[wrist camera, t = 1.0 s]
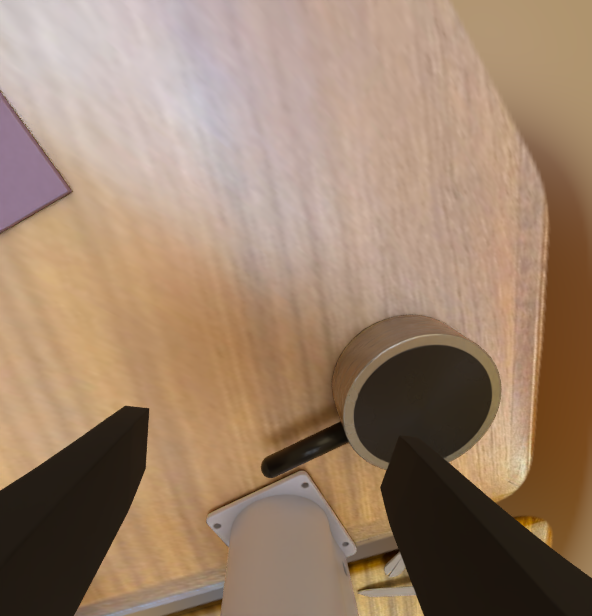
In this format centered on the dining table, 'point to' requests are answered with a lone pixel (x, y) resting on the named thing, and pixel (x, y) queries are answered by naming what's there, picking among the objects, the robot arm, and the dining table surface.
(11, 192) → the cloth
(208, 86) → the dining table surface
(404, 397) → the pan
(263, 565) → the robot arm
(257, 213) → the dining table surface
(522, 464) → the dining table surface
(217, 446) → the dining table surface
